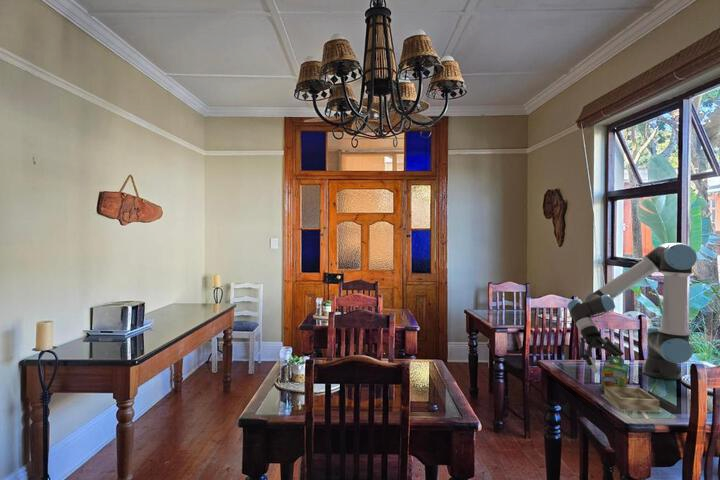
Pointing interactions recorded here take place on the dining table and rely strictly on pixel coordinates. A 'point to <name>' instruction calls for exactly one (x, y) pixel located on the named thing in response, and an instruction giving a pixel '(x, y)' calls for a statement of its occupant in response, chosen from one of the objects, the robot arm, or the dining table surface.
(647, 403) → the tray
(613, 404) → the mat
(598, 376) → the dining table surface
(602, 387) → the chalk box
